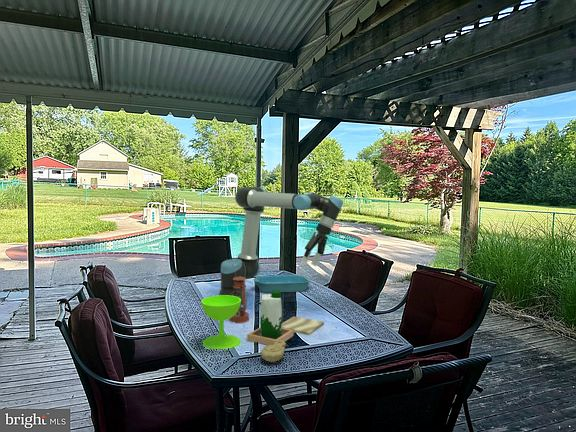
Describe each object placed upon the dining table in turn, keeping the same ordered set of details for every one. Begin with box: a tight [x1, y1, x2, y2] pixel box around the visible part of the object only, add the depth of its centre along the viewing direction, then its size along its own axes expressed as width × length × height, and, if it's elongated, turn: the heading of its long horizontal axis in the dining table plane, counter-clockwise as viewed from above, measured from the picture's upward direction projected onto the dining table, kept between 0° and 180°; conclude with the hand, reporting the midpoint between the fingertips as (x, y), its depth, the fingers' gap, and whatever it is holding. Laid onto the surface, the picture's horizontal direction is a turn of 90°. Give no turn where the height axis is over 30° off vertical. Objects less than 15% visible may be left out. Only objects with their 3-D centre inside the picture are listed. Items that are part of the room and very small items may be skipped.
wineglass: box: [200, 294, 242, 349], centre depth 160 cm, size 16×16×18 cm
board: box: [281, 316, 325, 336], centre depth 182 cm, size 16×16×1 cm
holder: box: [246, 327, 295, 346], centre depth 167 cm, size 14×14×2 cm
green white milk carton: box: [259, 291, 283, 340], centre depth 167 cm, size 9×9×20 cm
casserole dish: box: [252, 274, 312, 294], centre depth 249 cm, size 37×22×7 cm, turn 104°
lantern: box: [229, 260, 250, 324], centre depth 189 cm, size 10×10×30 cm
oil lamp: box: [260, 341, 287, 363], centre depth 148 cm, size 11×14×5 cm
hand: (308, 264), depth 199 cm, fingers open, 13 cm apart
